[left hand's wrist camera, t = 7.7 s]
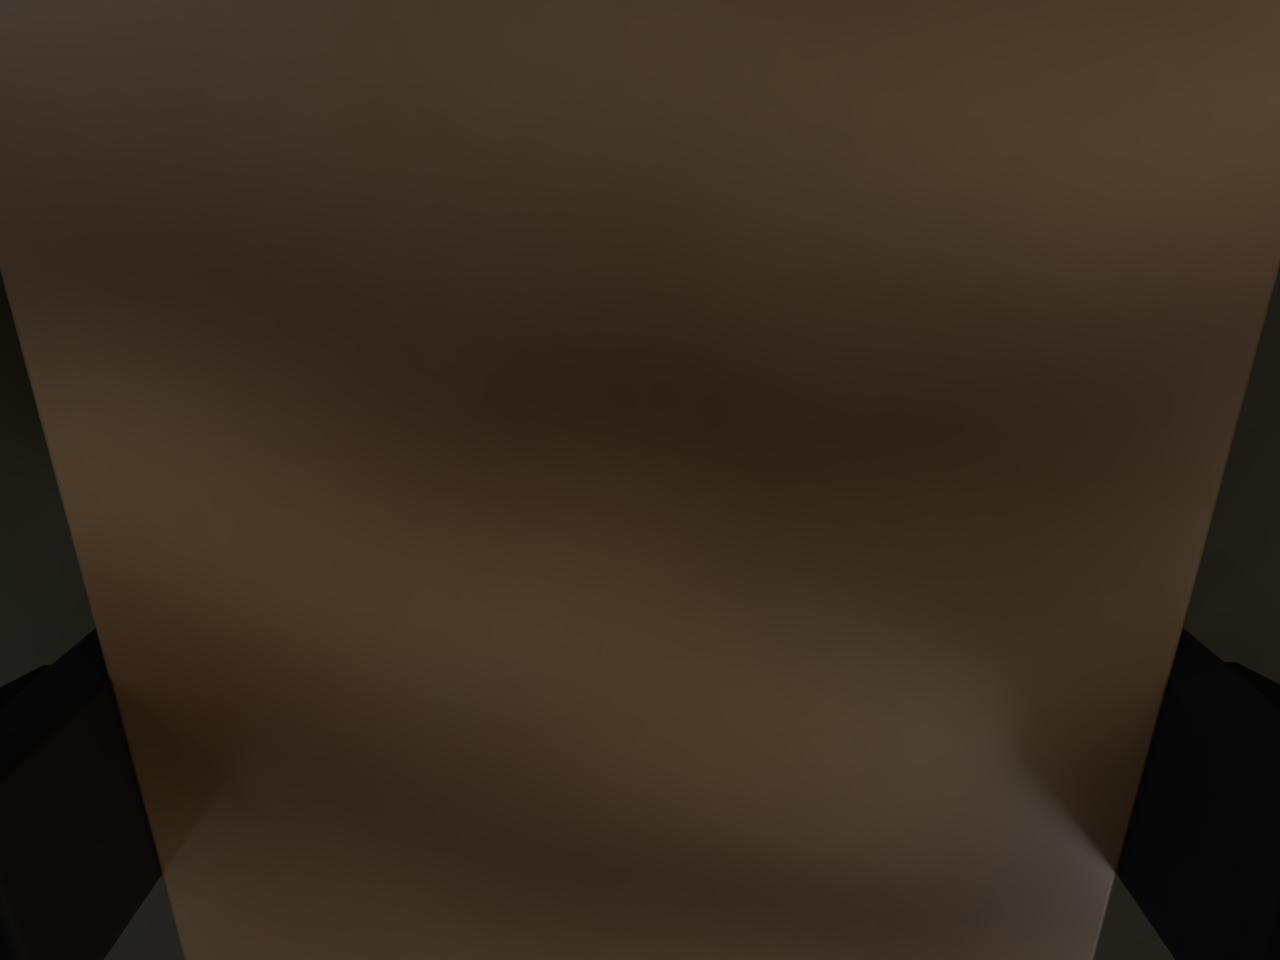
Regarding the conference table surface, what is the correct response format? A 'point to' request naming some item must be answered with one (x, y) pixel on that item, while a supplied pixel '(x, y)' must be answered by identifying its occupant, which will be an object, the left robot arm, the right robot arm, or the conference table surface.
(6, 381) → the conference table surface
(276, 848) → the cabinet
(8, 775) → the left robot arm
